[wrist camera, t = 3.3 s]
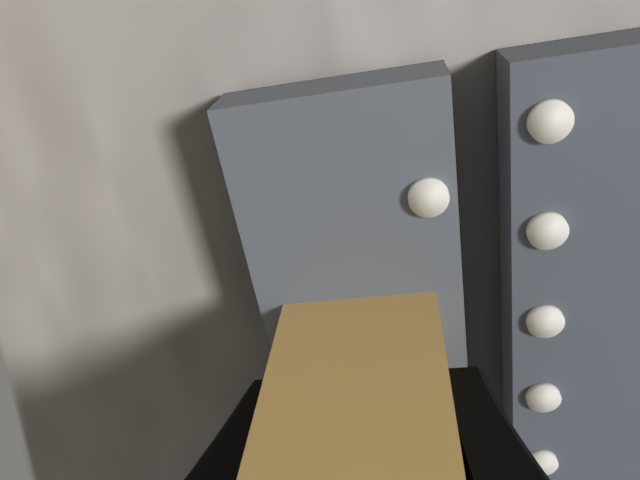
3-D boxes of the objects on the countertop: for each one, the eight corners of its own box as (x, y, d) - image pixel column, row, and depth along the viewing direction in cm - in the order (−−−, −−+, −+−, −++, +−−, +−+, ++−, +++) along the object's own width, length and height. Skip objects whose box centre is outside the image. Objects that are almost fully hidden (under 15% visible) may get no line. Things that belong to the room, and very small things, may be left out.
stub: (443, 60, 10) (524, 217, 4) (471, 507, 15) (522, 825, 10) (224, 93, 10) (50, 267, 5) (327, 510, 16) (300, 809, 10)
